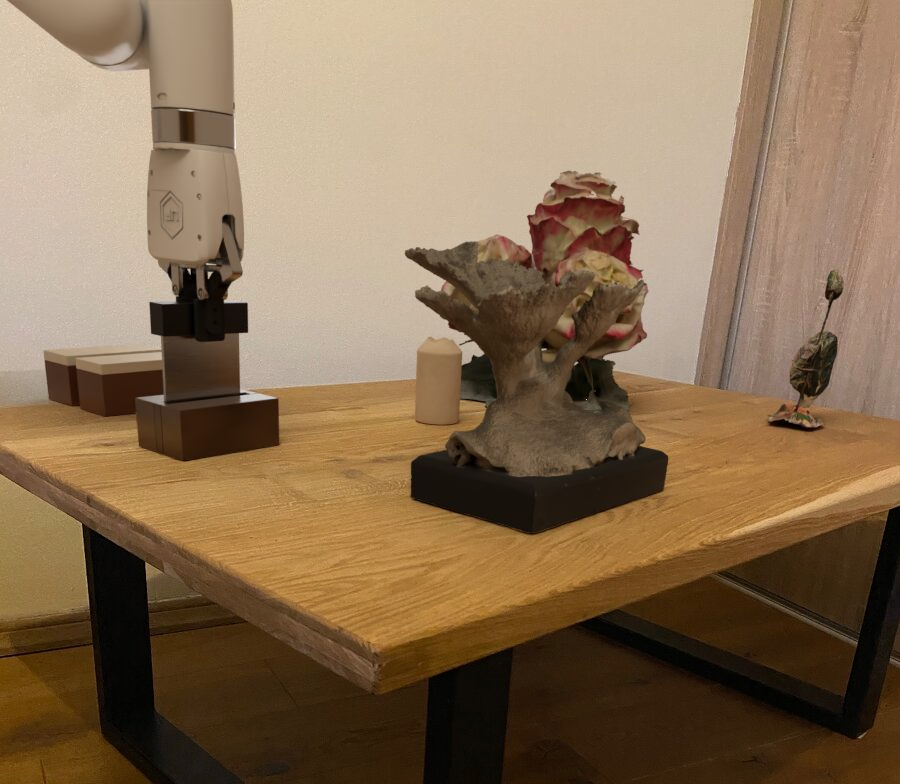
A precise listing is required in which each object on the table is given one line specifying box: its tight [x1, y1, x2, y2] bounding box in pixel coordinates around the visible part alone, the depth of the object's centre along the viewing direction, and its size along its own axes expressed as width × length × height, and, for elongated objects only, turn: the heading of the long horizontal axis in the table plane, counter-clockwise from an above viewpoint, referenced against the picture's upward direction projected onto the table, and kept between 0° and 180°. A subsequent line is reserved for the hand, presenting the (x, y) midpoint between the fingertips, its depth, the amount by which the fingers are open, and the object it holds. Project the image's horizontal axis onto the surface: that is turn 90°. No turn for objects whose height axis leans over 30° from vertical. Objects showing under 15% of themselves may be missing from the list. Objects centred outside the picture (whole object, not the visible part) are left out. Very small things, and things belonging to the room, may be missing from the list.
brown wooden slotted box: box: [135, 388, 280, 462], centre depth 96 cm, size 12×8×5 cm, turn 139°
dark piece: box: [148, 300, 249, 404], centre depth 94 cm, size 10×2×10 cm, turn 139°
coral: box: [404, 240, 669, 534], centre depth 83 cm, size 25×20×22 cm
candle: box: [414, 336, 463, 426], centre depth 114 cm, size 6×6×10 cm
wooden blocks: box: [42, 343, 164, 418], centre depth 116 cm, size 14×14×6 cm
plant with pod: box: [766, 268, 845, 429], centre depth 122 cm, size 8×11×20 cm
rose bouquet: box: [440, 170, 650, 414], centre depth 126 cm, size 26×29×30 cm
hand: (201, 337), depth 93 cm, fingers closed on dark piece, 2 cm apart
